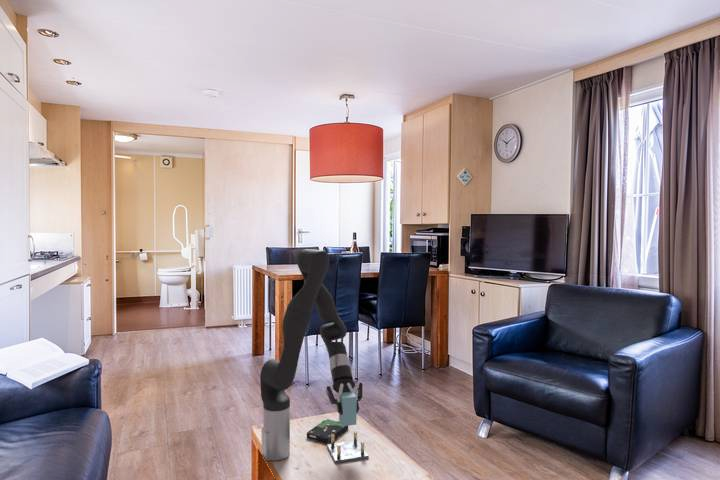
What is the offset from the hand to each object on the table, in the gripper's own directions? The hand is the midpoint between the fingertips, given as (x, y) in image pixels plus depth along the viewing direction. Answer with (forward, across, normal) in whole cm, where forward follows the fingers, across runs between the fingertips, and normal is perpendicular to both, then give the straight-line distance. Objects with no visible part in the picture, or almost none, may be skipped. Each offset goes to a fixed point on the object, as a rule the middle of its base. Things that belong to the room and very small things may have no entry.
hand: (349, 412), depth 161 cm
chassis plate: (+9, 0, +12) cm, 15 cm away
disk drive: (-2, -3, +24) cm, 24 cm away
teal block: (+2, 0, +4) cm, 5 cm away
